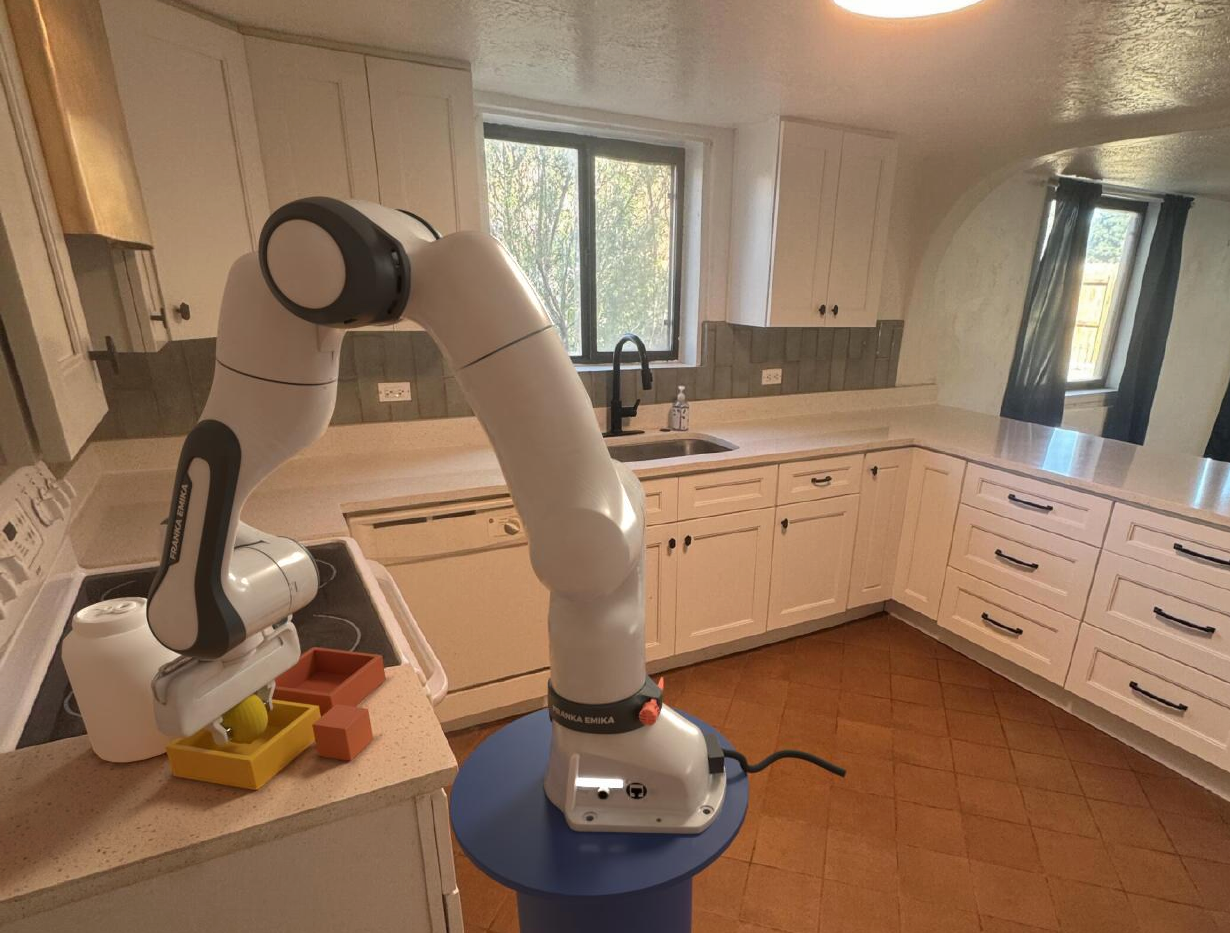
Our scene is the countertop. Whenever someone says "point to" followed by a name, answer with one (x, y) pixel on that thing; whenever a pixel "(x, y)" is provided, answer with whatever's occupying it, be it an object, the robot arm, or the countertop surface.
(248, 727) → the lemon
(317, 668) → the terracotta bin
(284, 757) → the yellow bin
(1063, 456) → the countertop surface
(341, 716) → the block
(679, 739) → the robot arm
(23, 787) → the countertop surface
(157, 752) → the can
